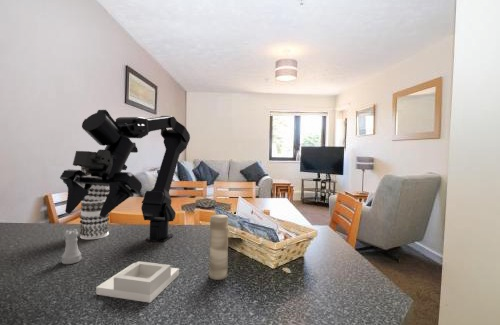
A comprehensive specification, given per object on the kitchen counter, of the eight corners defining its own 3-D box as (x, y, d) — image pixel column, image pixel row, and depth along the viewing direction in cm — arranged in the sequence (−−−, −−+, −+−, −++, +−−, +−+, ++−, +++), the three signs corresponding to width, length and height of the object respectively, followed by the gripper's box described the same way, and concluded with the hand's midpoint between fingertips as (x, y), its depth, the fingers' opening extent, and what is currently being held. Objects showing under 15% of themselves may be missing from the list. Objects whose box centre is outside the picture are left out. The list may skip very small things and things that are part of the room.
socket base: (133, 269, 66) (133, 252, 66) (179, 274, 64) (179, 258, 64) (96, 294, 55) (96, 274, 54) (150, 302, 52) (150, 282, 52)
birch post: (212, 270, 66) (213, 214, 66) (229, 272, 66) (230, 215, 65) (206, 278, 62) (207, 218, 62) (224, 280, 62) (225, 219, 61)
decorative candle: (88, 241, 84) (87, 161, 83) (73, 236, 89) (72, 160, 88) (115, 234, 92) (115, 160, 91) (100, 229, 97) (100, 159, 96)
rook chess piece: (71, 265, 68) (71, 233, 67) (56, 263, 68) (56, 232, 68) (86, 258, 72) (85, 228, 71) (71, 257, 73) (71, 227, 72)
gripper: (61, 136, 64) (20, 195, 56) (128, 137, 60) (95, 201, 51) (92, 162, 73) (60, 216, 65) (153, 165, 69) (127, 223, 60)
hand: (84, 214), depth 60 cm, fingers open, 9 cm apart
